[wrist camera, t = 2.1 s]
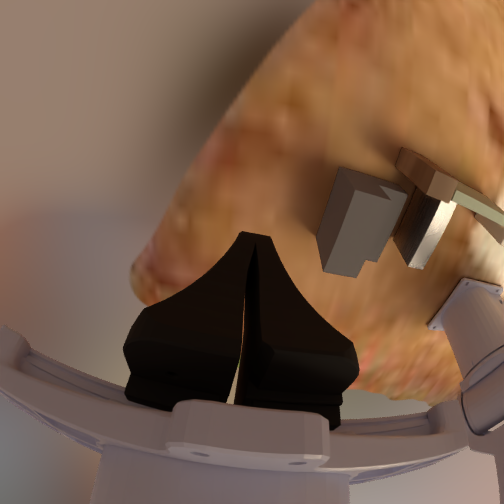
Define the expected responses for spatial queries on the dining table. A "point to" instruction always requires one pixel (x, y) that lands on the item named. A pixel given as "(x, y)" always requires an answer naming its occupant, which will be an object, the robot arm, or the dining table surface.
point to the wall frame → (438, 185)
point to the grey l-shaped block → (437, 221)
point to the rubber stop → (357, 221)
